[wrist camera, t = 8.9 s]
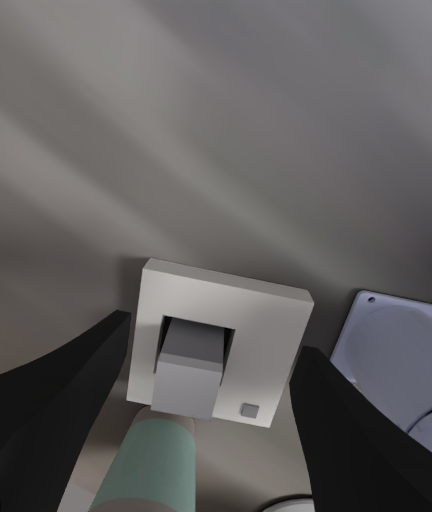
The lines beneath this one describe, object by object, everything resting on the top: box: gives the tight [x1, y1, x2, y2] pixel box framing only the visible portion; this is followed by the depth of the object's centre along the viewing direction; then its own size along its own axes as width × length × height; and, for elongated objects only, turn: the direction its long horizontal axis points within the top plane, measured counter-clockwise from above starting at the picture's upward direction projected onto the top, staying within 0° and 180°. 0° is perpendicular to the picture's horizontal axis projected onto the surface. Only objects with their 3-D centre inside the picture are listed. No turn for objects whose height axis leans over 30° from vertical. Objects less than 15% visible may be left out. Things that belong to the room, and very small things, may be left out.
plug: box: [151, 317, 224, 421], centre depth 22 cm, size 4×4×6 cm
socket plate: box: [126, 258, 315, 428], centre depth 24 cm, size 12×12×2 cm
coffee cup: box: [88, 405, 195, 512], centre depth 23 cm, size 8×9×12 cm
